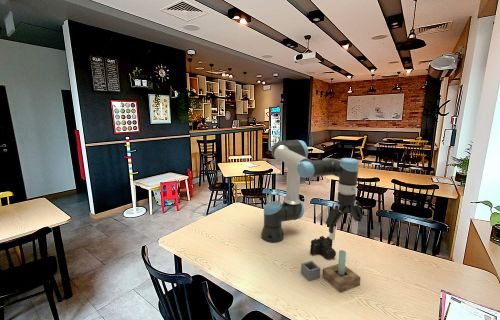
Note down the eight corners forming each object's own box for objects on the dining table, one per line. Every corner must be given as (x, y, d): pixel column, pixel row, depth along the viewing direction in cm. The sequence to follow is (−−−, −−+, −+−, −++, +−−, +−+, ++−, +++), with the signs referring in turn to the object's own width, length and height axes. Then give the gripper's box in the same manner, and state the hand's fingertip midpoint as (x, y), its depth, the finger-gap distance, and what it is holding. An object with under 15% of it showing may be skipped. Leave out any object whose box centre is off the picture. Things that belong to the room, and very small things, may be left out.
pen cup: (300, 274, 119) (301, 263, 118) (311, 271, 121) (311, 260, 120) (308, 282, 113) (309, 271, 112) (319, 279, 115) (320, 268, 114)
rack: (322, 277, 116) (322, 268, 115) (340, 271, 121) (341, 262, 120) (340, 294, 105) (340, 284, 105) (359, 286, 110) (360, 277, 109)
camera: (318, 263, 128) (319, 246, 126) (308, 253, 138) (309, 237, 136) (340, 259, 132) (341, 242, 130) (328, 249, 142) (329, 233, 140)
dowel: (335, 281, 114) (337, 251, 111) (340, 279, 115) (342, 249, 112) (340, 285, 111) (342, 254, 108) (345, 283, 112) (347, 252, 110)
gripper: (331, 199, 97) (327, 245, 101) (373, 191, 107) (369, 234, 111) (319, 193, 104) (316, 237, 108) (360, 187, 114) (356, 227, 118)
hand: (343, 236), depth 109 cm, fingers open, 13 cm apart
